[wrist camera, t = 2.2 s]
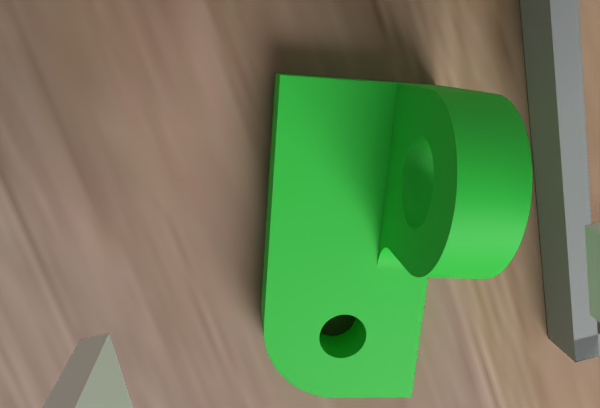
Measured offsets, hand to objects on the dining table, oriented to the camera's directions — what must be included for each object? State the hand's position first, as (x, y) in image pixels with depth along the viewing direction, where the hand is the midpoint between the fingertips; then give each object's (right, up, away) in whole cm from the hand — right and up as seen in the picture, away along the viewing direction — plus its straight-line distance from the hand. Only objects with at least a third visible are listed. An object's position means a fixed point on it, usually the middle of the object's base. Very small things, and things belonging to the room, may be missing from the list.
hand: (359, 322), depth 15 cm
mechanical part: (0, +2, +7) cm, 8 cm away
